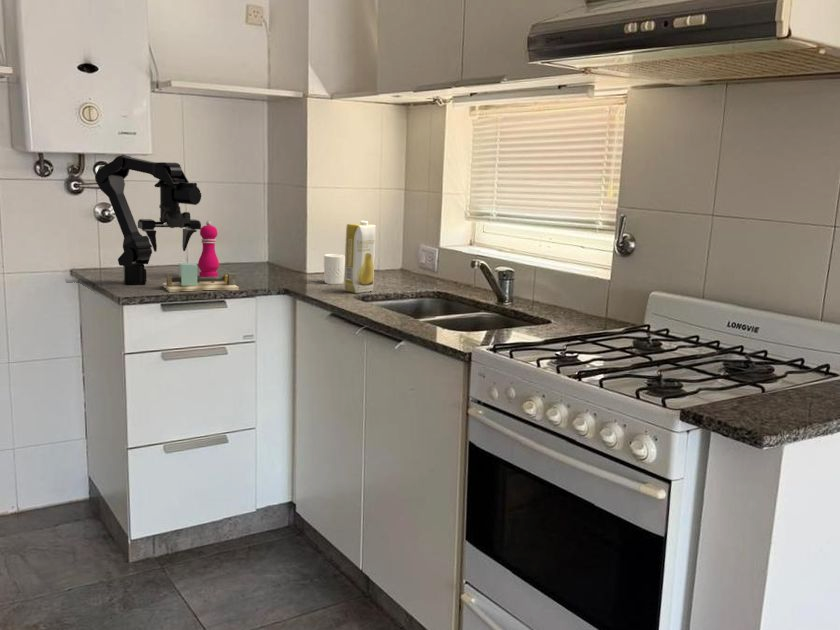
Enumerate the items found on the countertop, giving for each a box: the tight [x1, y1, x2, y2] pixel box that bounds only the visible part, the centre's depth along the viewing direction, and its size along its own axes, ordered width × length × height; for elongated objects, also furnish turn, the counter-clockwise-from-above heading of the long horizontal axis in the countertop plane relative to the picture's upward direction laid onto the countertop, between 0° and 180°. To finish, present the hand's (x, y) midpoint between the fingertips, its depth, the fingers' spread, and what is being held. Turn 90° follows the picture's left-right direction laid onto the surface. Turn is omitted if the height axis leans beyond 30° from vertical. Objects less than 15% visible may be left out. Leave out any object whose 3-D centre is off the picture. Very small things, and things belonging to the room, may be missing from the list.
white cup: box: [323, 253, 345, 285], centre depth 284 cm, size 8×8×10 cm
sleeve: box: [178, 262, 198, 286], centre depth 258 cm, size 5×4×7 cm
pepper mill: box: [197, 220, 220, 277], centre depth 280 cm, size 7×7×20 cm
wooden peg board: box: [162, 272, 240, 293], centre depth 260 cm, size 22×12×5 cm, turn 117°
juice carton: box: [343, 220, 376, 294], centre depth 268 cm, size 9×8×24 cm
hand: (169, 251), depth 255 cm, fingers open, 9 cm apart
